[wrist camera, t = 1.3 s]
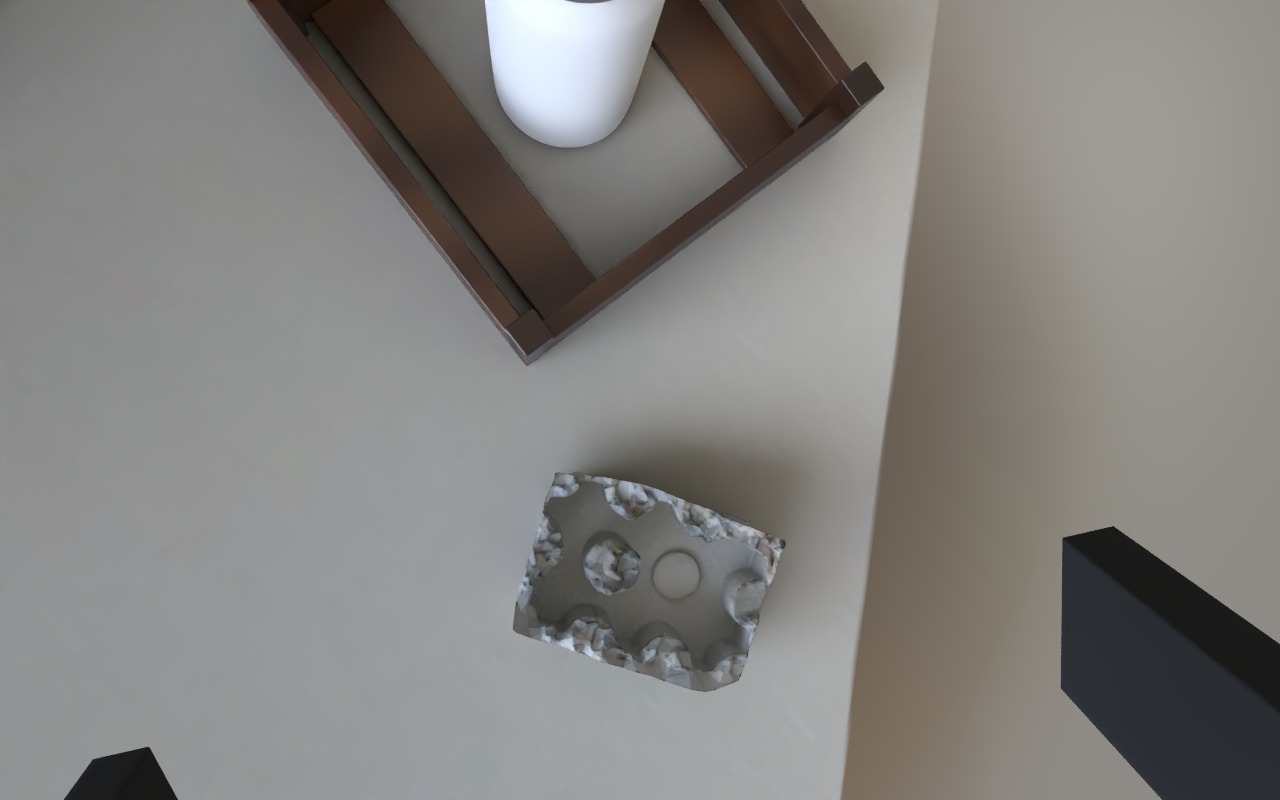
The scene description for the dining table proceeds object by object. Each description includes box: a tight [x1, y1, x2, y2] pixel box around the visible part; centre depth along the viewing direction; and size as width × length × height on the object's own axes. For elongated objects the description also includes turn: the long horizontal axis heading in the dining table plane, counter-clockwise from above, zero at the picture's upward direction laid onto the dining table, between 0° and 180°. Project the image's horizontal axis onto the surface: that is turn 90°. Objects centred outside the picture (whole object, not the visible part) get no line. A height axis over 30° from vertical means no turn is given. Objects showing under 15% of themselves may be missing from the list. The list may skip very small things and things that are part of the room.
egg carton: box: [513, 472, 786, 692], centre depth 33 cm, size 11×8×4 cm
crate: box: [246, 0, 884, 366], centre depth 33 cm, size 19×19×5 cm
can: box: [485, 0, 665, 148], centre depth 29 cm, size 6×6×12 cm
